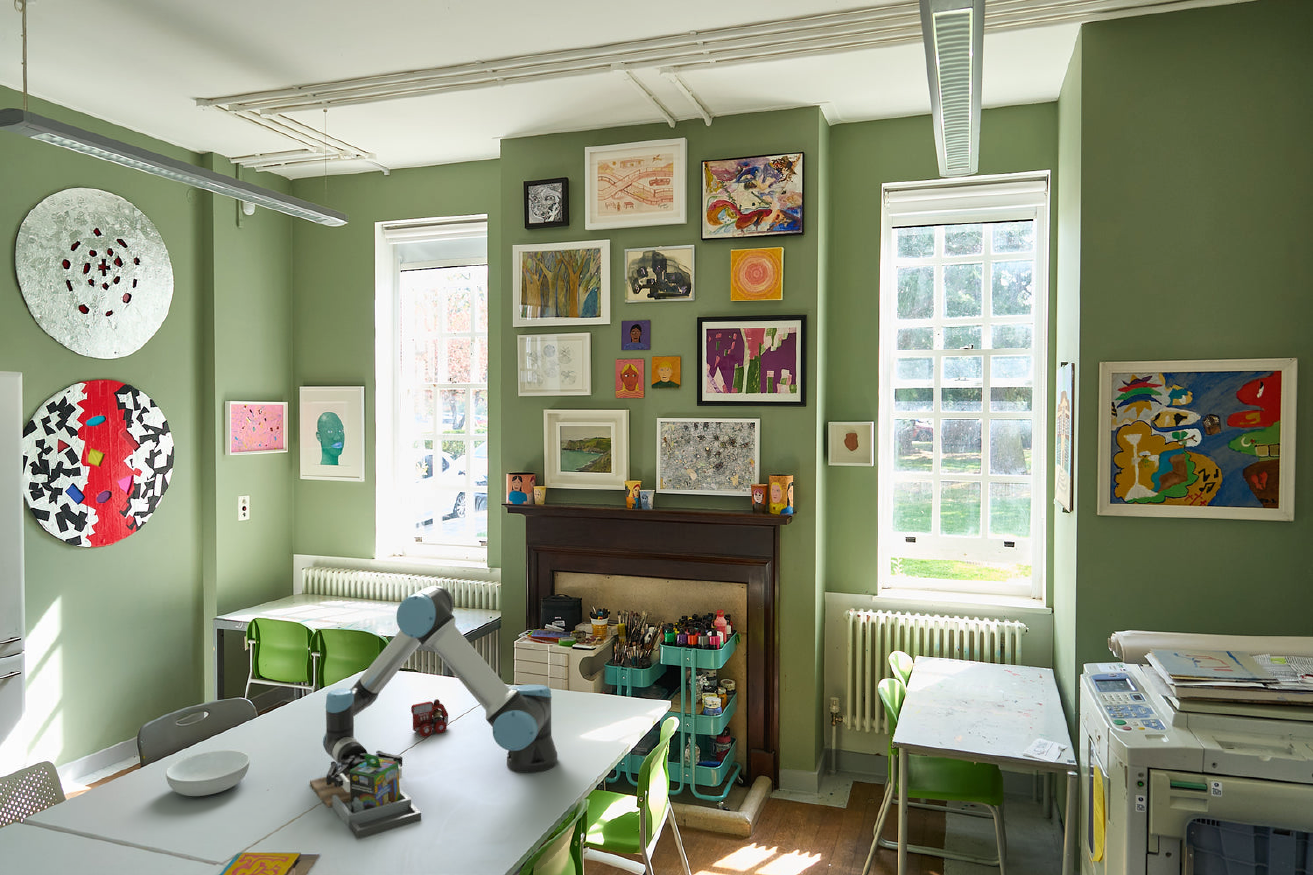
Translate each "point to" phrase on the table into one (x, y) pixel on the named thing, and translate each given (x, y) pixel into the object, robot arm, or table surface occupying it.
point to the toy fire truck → (429, 718)
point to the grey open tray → (378, 816)
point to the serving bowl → (207, 772)
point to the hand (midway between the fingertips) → (374, 779)
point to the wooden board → (330, 791)
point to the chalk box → (374, 783)
